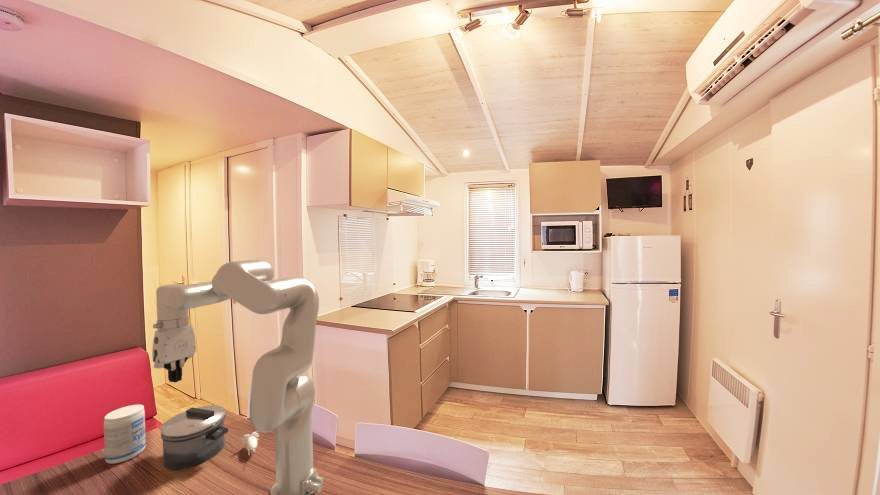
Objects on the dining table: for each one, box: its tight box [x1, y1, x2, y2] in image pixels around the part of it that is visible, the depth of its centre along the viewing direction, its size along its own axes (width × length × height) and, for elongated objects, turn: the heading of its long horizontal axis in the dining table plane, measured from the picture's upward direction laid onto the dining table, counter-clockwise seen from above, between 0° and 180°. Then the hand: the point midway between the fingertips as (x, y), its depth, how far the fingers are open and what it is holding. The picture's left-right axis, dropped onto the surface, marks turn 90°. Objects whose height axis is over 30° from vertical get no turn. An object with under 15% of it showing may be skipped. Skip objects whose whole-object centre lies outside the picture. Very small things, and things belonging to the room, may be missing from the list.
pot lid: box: [160, 404, 226, 438], centre depth 102 cm, size 17×17×3 cm
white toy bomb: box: [241, 430, 260, 456], centre depth 101 cm, size 12×5×5 cm, turn 37°
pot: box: [160, 409, 229, 471], centre depth 102 cm, size 23×18×10 cm
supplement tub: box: [103, 404, 147, 465], centre depth 101 cm, size 10×10×15 cm
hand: (175, 380), depth 96 cm, fingers closed
